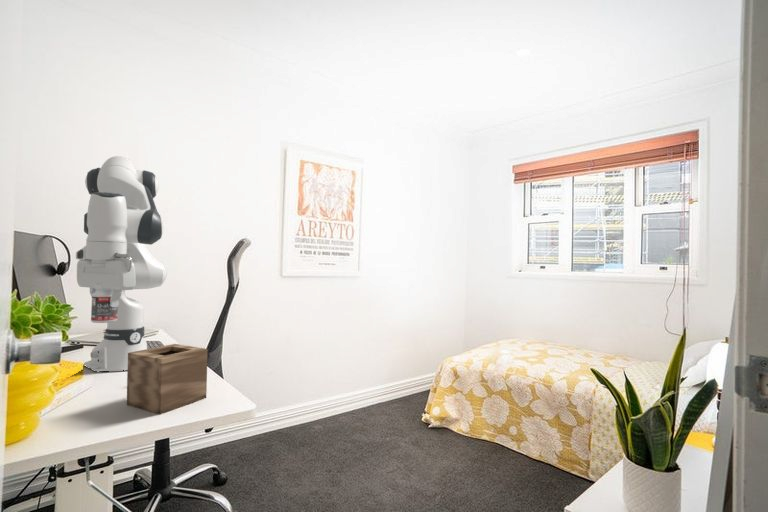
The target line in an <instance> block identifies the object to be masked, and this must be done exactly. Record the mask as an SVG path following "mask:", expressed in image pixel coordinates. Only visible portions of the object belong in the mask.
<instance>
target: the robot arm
mask: <svg viewBox="0 0 768 512" xmlns="http://www.w3.org/2000/svg"><path fill="white" fill-rule="evenodd" d="M84 182H85V183H84V184H85V188H86V190H87V191H88V192H87V193H88V194H89V195H90V196H89V197H90V198H89V200H88V208H87V212H86V213H85V214H84V215H83V216H84V217H83V232H84V233H85V234H86V235H87V237H86V241H85V243H86V244H85V245H84V246H83V247H82V248H80V249H79V250H77V251H76V252H75V260H77V263H76V282H77V284H78V286H79V287H80V288H81V287H82V288H89V294H90V296H91V298H92V294H93V293H94V292H96V289H95V284H101V285H102V288H103V289H110V293H111V294H112V295H111V298H110V300H108V306H109V307H118V318H117V321H115V322H110V323H106V324H107V328H105V329H103V337H102V338H103V340H101V341H100V342H99V343H98V344H97V345H96V346H94V347H93V348H92V350H91V351H90V354H89V355H90V360H88V361H84V362H83V363H84V365H86V366H87V367H89V368H91V369H93V370H95V371H97V372H96V373H100V372H99V371H109V372H123V370H124V372H125V371H128V353H130V352H135V351H140V350H145V349H148V343H147V340H146V339H145V338H144V337H145V333H146V330H145V326H144V313H145V312H144V310H145V308H144V306H143V305H142V303H141V302H139V301H138V300H135V299H133V298H130V297H128V296H126V293H125V291H132V290H149V289H154V288H158V287H161V286H162V285H163V284H164V283H165V281H166V280H167V275H168V273H167V269H166V267H165V266H164V264H163V263H162V262H160V261H159V260H158V259H157V258H155V257H154V256H153V255H152V253H150V251H149V249H148V247H147V245H150V246H151V245H153V244H155V243H156V242H158V241H160V239H162V236H163V234H164V223H163V219H162V217H161V214H159V213H160V212H158V208H157V207H156V204H155V203H156V202H155V201H154V199H155V197H156V196H157V193H158V191H159V187H160V186H159V185H160V184H159V181H158V178H157V177H156V175H155V173H154V172H151V171H148V170H144V169H143V170H139V169H136V166H135V164H134V163H133V161H131V160H130V159H128V158H126V157H123V156H118V155H116V156H111V157H109V158H108V159H106V160H105V161H104V163H103V164H102V166H101V167H96V168H92V169H90V170H89V171H87V174H86V176H85V181H84Z"/></svg>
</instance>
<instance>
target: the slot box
mask: <svg viewBox="0 0 768 512" xmlns="http://www.w3.org/2000/svg"><path fill="white" fill-rule="evenodd" d="M208 351H209V350H208V348H203V347H197V346H191V345H185V344H178V343H172V344H166V345H163V346H156V347H152V348H147V349H145V350H140V351H135V352H130V353H128V370H126V371H127V373H126V374H127V377H126V379H127V380H126V406H129V407H132V408H136V409H140V410H144V411H147V412H151V413H154V414H158V415H162V414H165V413H168V412H171V411H173V410H177V409H179V408H183V407H185V406H188V405H191V404H194V403H196V402H199V401H202V400H205V399H207V393H208V392H207V391H208V390H207V385H208V384H207V383H208ZM204 398H205V399H204Z"/></svg>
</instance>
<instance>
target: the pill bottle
mask: <svg viewBox="0 0 768 512" xmlns="http://www.w3.org/2000/svg"><path fill="white" fill-rule="evenodd" d="M95 289H96V292H94V293H93V294H92V297H91V311H90V314H91V315H90V316H91V317H90V321H91V323H93V324H107V323H110V322H115V321H117V318H118V307H109V306H108V300H110V298H111V295H112V294H111V293H110V289H103V288H102V285H101V284H95Z"/></svg>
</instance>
